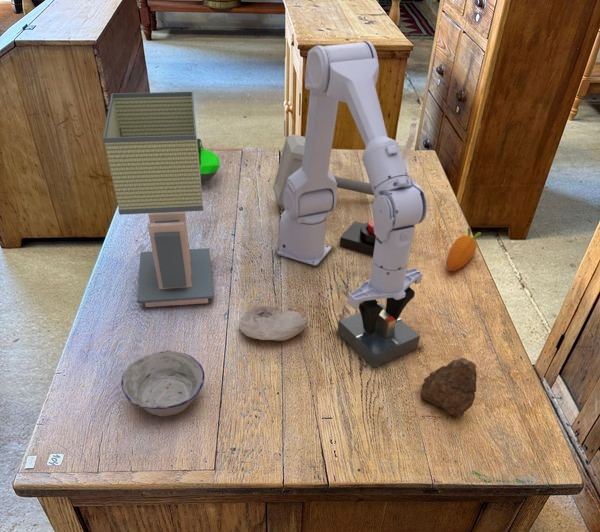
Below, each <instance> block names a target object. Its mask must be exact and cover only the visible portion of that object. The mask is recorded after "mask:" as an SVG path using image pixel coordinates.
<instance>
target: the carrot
mask: <svg viewBox="0 0 600 532" xmlns="http://www.w3.org/2000/svg"><path fill="white" fill-rule="evenodd" d="M471 234H472V229H471V228H470V227H468V228H467V234H463V235H462V236H460V237H457V238H456V239H455V240H454V242H453V244H452V245H451V247H450V249H449V251H448V255H447V259H446V268H447V270H448V271H450V272H453V271H456V270H458V269H460V268H462V267H464V266H465V265H466V264H467V263H468V262H469V261H470V260H471V259H472V258H473V256H474V255H475V253H476V249H477V246H478V244H477V242H476V241H475V240H477V238H479V237H480V236H481V235H482V233H481V232H480V231H478V232H477V233H476V234H475V235H473V236H471Z"/></svg>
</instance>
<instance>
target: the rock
mask: <svg viewBox="0 0 600 532" xmlns="http://www.w3.org/2000/svg"><path fill="white" fill-rule="evenodd" d="M477 377H478V375H477V369H476V364H475V362H473V361H471V360H469V359H467V358H465V357H459V358H457V359H452V360H451V361H450V362H449V363H448V364H447V365H443V366H440V367H439V368H437V369H435V371H432V372H430V373H429V375H428V376H426V377H425V378H424V379H423V383H422V385H421V391H420V396H421V397H422V398H423V400H425V401H426V402H429V403H433V404H434V406H436V407H437V406H438V407H440V408H442V409H444V411H445V412H446V413H447V414H449V415H451V416H453V417H455V418H456V417H457V418H458V417H459V418H461V417H462V416H464V414H465V413H466V412H467V411H468V410H469V409H471V408H472V406H473V403H474V401H475V399H476V392H477V379H478V378H477Z"/></svg>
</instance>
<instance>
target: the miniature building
mask: <svg viewBox="0 0 600 532" xmlns="http://www.w3.org/2000/svg"><path fill="white" fill-rule="evenodd" d="M202 143H203V142H202V140H201V138H197V144H198V154H199V160H200V173H201V185H202V184H205V183H207V182H210V180H212V178H213V177H214V176H215V175H216V174H217V172H218V170H219V168H220V165H221V163H220V157H219V156H218V155H217V154H216V153H215V152H213V151H211V150H209V149H207V148H205V149H204V145H203V144H202Z"/></svg>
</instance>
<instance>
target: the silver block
mask: <svg viewBox="0 0 600 532" xmlns="http://www.w3.org/2000/svg"><path fill="white" fill-rule="evenodd" d="M395 323H396V320H395V319H394V318H393V317H392V316H390V315H389V314H388V313H387V312H386V311H384V310H382V311H381V313H380V315H379V317H378V319H377V322H376V327H375V329H376V330H377V331H378V332H379V333H380V334H381V335H383V336H384V337H385V338H386V339H387V338H389V337H391V336H393V333H394V328H395Z"/></svg>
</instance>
